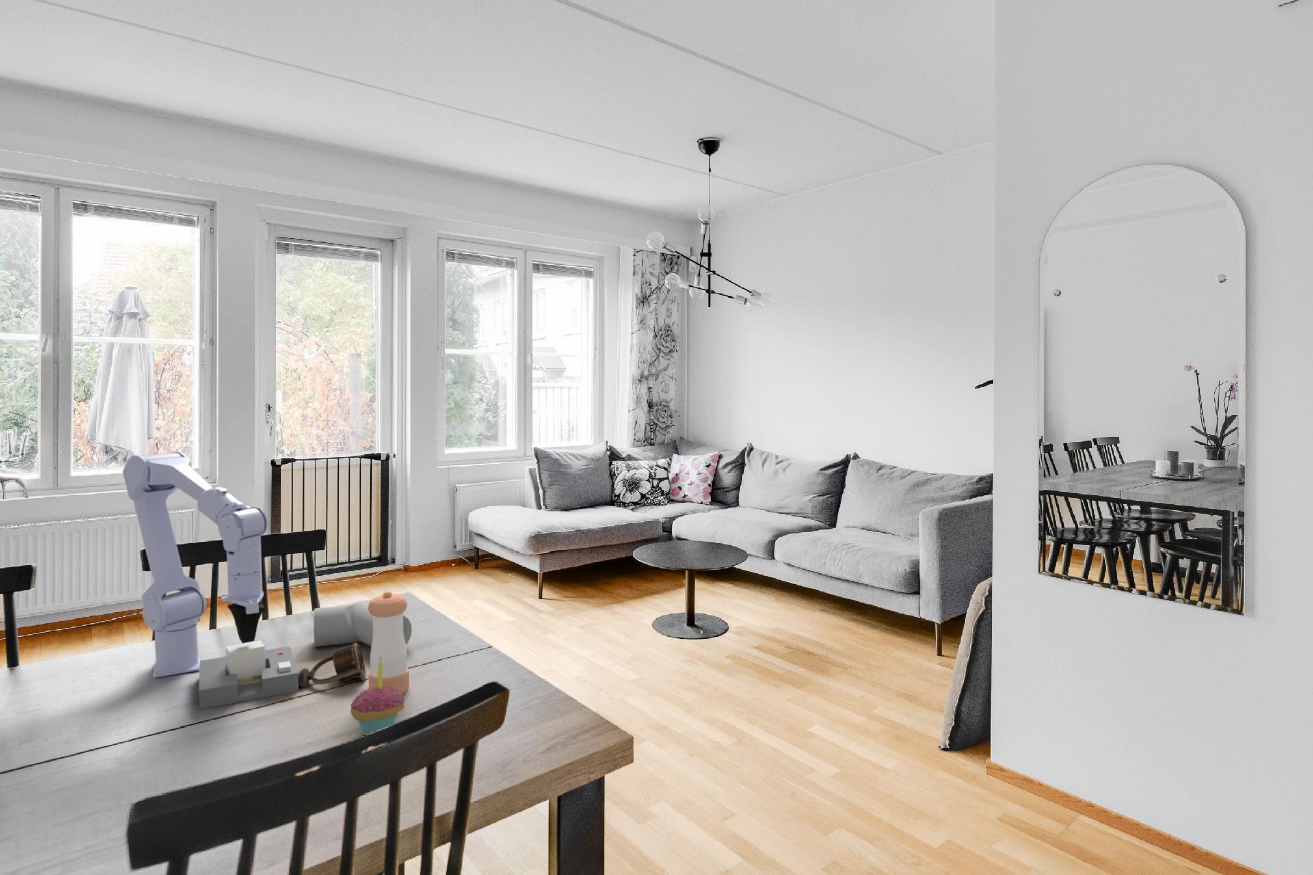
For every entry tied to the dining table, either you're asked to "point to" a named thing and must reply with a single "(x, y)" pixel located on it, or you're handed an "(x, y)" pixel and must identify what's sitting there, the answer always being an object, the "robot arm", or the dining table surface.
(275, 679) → the socket board
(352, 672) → the bronze loop with drum
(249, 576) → the robot arm
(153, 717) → the dining table surface
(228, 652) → the plug
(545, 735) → the dining table surface
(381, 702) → the cupcake
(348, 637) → the bent grey cylinder
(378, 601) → the pepper shaker
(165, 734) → the dining table surface
